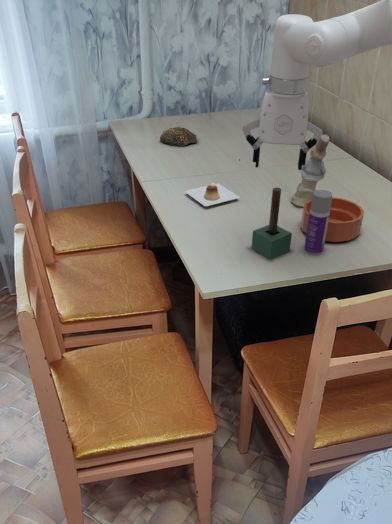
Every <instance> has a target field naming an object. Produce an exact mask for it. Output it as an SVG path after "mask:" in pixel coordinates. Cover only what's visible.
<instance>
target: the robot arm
mask: <svg viewBox="0 0 392 524" xmlns="http://www.w3.org/2000/svg"><path fill="white" fill-rule="evenodd" d="M273 32H274V33H273V44H272V53H271V63H270V64H271V65H270V75H268V77H263V78H262V86H266V87H267V88H268V89H266V90H265V92H264V94H263V99H262V105H261V108H260V116H259V118H257V119H255V120H252V121H251V122H248V123H246V124H244V125H243V126H242V132H243V135H244V137H245V139H246V141H247V142H248V144H249V145H250V146H251V147H252V149H253V153H252V163H255V168H256V169H257V168H259V164H260V155H261V146H262V145H263V144H271V145H287V146H288V145H289V146H299V147H300V149H299V154H298V161H297V170H298V171H301V170H302V165H305V162H306V161H307V155H308V154H307V153H309V151H311V150H312V148H313V147H314V145H316V143H317V142H318V140H319V139H320V137H321V136H322V135H324V133H323V129H321V128H320V127H318V126H317V125H315V124H313V123H312V122H310V121H309V110H310V109H309V108H310V99H309V98H310V96H309V93H308V92H307V91H306V88H307V81H308V76H309V75H308V74H309V66H311V67H315V68H323V67H327V66H330V65H333V64H334V63H337V62H340V61H343V60H347V59H349V58H352V57H355V56H357V55H360V54H364V53H366V52H369V51H372V50H376V49H379V48H382V47H385V46H389V45H392V0H379V1H377V2H375V3H372V4H370V5H367V6H365V7H362V8H359V9H356V10H354V11H352V12H348V13H345V14H343V15H339V16H335V17H331V18H328V19H323V20H319V21H314V20H313V19H312V17H310V16H308V15H304V14H297V13H296V14H294V13H293V14H291V13H290V14H283V15H281V16H278V18H276V20H275V24H274V30H273ZM256 128H258V136H257V137H255V136H254V135H252V133H251V131H252V130H254V129H256ZM308 131H309V132H311V133H312V134H313V136H312V137H311V138H310V139H309V140H307V141H306V137H307V132H308Z"/></svg>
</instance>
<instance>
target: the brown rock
mask: <svg viewBox="0 0 392 524" xmlns="http://www.w3.org/2000/svg"><path fill="white" fill-rule="evenodd" d="M159 140H160V142H161V143H163V144H167V145H170V146H174V147H175V146H177V147H186V146H187V145H189V144H197V142H198V139H197V134H195V133H193V132H192V131H191V130H189V129H188V128H185V127H181V126H174V127H169V128H168V129H166V130H164V131H163V132H162V134H161V135H160V136H159Z"/></svg>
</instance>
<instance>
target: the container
mask: <svg viewBox="0 0 392 524" xmlns="http://www.w3.org/2000/svg"><path fill="white" fill-rule="evenodd" d="M315 190H316V191H314V192H313V197H312V203H311V208H310V214H309V221H308V227H307V234H306V233H305V241H304V247H303V250H304V252H305V253H306V254H308V255H311V256H318V255H319V256H320V255H321V254H323V252H324V248H325V242H326V241H325V237H326V231H327V226H328V220H329V215H330V208H331V201H332V197H333V193H332V192H331V191H329V190H326V189H315Z"/></svg>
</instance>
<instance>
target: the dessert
mask: <svg viewBox="0 0 392 524" xmlns="http://www.w3.org/2000/svg"><path fill="white" fill-rule="evenodd" d="M183 191H184V193H185V194H187V195H188V196H190V197H191V198H193V199H194V200H195V201H197V202H198V203H199V204H201V205H202V206H204V207H206V208H208V207H211V206H216V205H219V204H224V203H229V202H231V201H235V200H237V199H240V198H241V196H239V195H237V194H235V193H234V192H233V191H231V190H229V189H228V188H226V187H225V186H224V185H222V184H221V183H219V182H217V183H215V182H214V181H212V182H211V183H210V184H208V185H205V186H200V187H196V188H192V189H187V190H183Z"/></svg>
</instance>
